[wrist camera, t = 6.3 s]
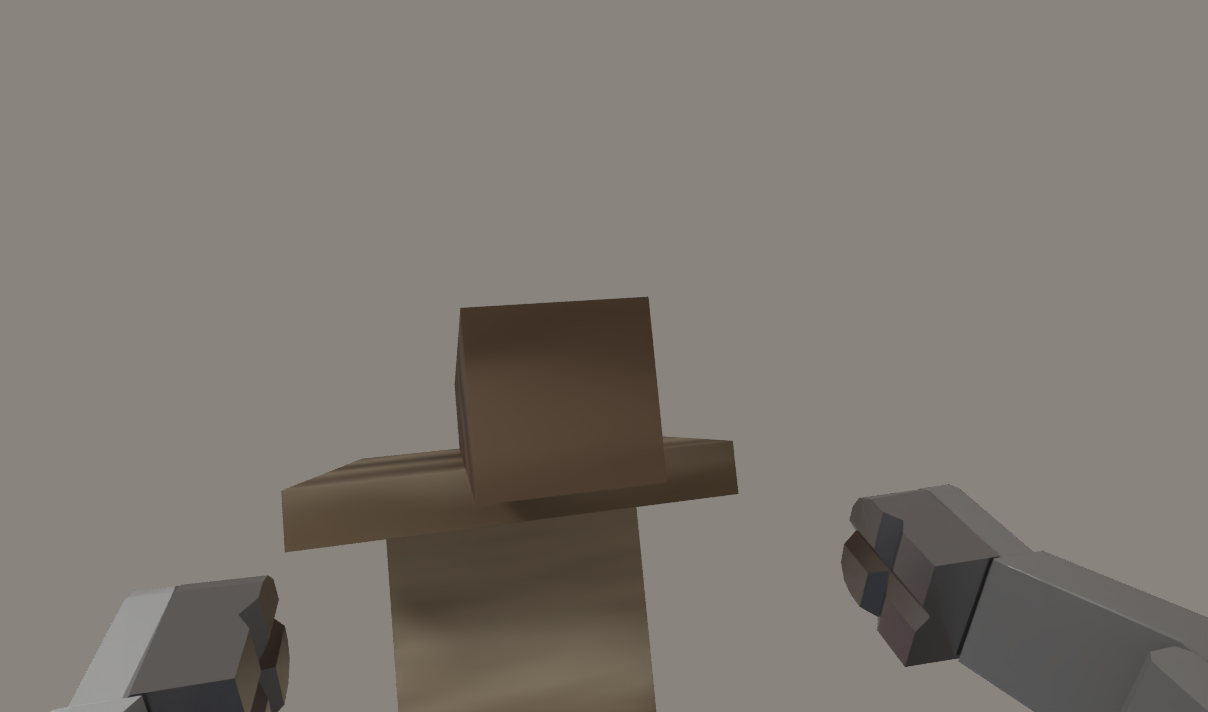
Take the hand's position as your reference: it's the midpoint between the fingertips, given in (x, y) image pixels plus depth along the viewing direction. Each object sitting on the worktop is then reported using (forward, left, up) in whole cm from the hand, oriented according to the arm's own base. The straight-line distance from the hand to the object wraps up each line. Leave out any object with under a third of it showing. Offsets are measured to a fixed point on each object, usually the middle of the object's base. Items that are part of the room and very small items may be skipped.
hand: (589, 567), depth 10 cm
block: (-8, +9, +1) cm, 12 cm away
